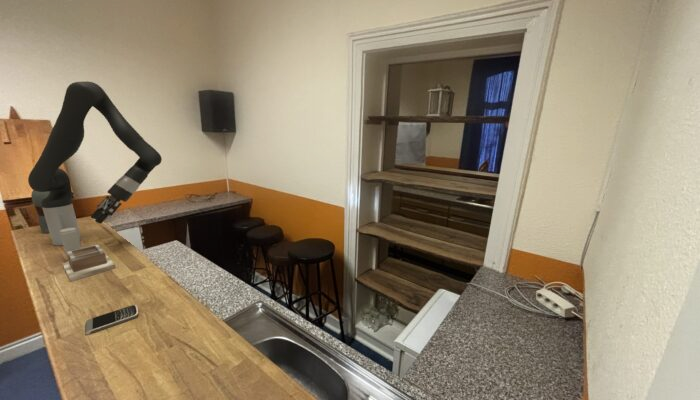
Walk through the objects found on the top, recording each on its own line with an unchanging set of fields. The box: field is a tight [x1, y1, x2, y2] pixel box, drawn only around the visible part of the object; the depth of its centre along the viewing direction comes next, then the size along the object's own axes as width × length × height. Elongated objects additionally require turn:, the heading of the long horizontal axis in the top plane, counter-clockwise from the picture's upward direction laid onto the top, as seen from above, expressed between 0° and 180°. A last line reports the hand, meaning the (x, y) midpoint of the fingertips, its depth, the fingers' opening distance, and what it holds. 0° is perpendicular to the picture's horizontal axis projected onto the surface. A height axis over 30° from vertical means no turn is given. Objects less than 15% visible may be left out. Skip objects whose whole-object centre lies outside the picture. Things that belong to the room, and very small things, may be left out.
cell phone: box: [84, 304, 139, 336], centre depth 74 cm, size 6×11×1 cm, turn 131°
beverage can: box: [60, 228, 83, 260], centre depth 109 cm, size 5×5×12 cm
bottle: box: [30, 189, 50, 234], centre depth 136 cm, size 9×9×30 cm
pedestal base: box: [62, 243, 116, 282], centre depth 102 cm, size 16×12×7 cm
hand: (95, 220), depth 113 cm, fingers open, 8 cm apart
